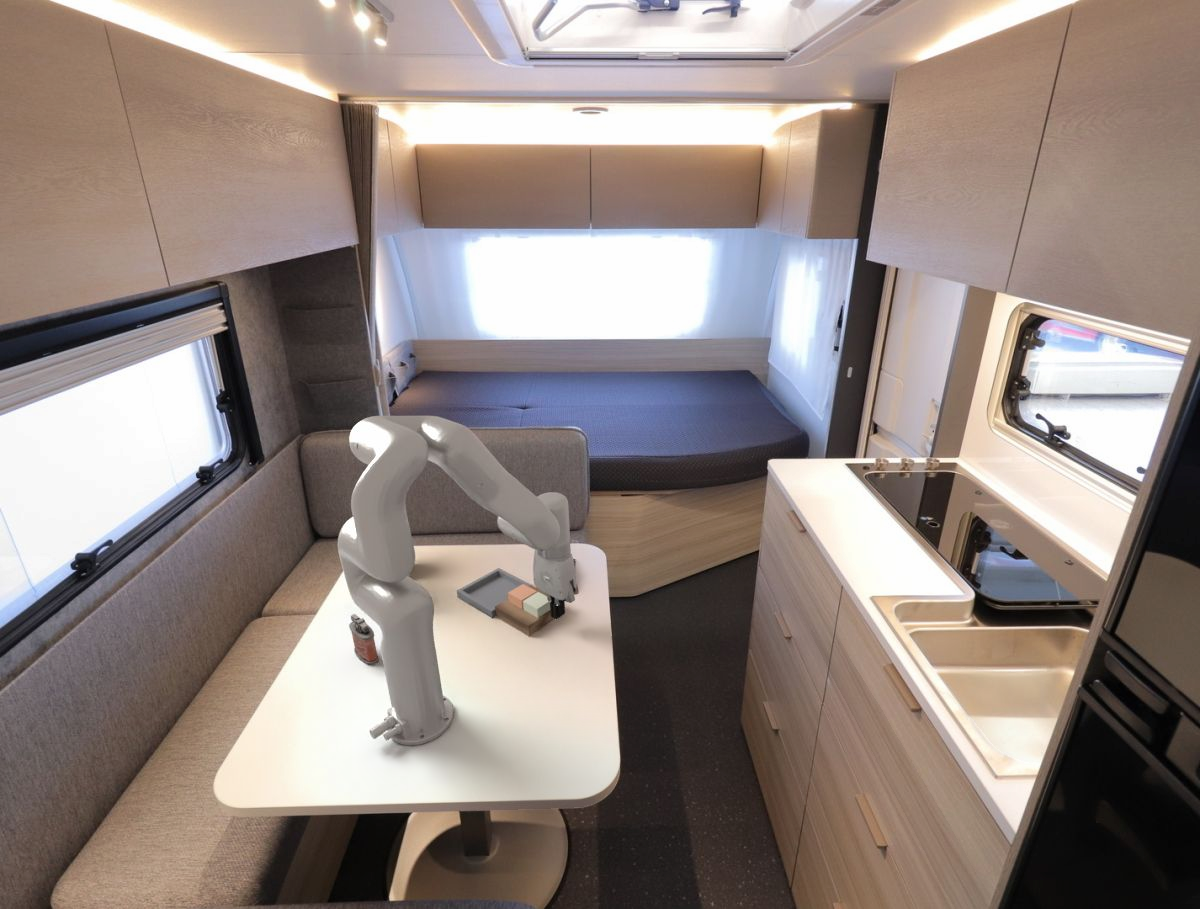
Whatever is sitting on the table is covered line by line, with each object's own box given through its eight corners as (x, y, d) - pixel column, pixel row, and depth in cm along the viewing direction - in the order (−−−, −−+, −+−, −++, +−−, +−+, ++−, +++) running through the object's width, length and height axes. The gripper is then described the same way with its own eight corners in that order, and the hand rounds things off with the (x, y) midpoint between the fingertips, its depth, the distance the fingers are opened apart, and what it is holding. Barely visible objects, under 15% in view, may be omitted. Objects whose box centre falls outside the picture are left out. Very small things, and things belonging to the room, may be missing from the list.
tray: (492, 618, 151) (491, 611, 150) (457, 597, 159) (456, 590, 159) (534, 592, 160) (533, 586, 160) (499, 574, 169) (498, 567, 168)
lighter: (382, 660, 137) (375, 623, 134) (368, 668, 135) (360, 630, 132) (365, 644, 143) (357, 608, 139) (351, 652, 140) (343, 615, 137)
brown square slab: (529, 636, 144) (528, 625, 143) (496, 616, 151) (495, 606, 150) (565, 612, 152) (564, 602, 151) (532, 594, 159) (531, 584, 158)
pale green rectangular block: (537, 617, 145) (537, 609, 144) (523, 609, 148) (522, 601, 147) (552, 608, 149) (552, 599, 148) (538, 600, 152) (538, 591, 151)
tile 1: (522, 609, 149) (521, 600, 148) (508, 601, 152) (507, 592, 151) (537, 599, 152) (536, 591, 151) (523, 592, 155) (522, 583, 154)
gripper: (518, 542, 139) (524, 610, 146) (565, 565, 130) (569, 636, 137) (542, 530, 144) (547, 596, 151) (589, 550, 135) (592, 620, 142)
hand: (558, 615), depth 144 cm, fingers closed
